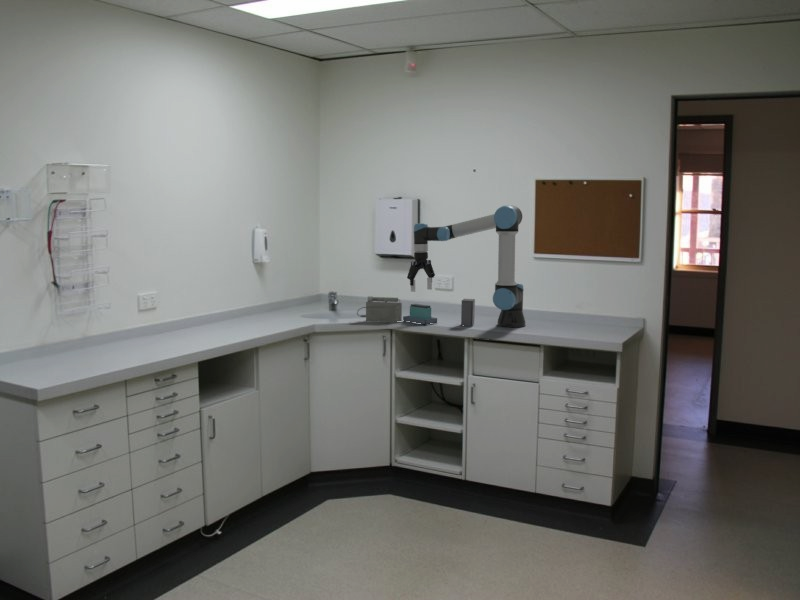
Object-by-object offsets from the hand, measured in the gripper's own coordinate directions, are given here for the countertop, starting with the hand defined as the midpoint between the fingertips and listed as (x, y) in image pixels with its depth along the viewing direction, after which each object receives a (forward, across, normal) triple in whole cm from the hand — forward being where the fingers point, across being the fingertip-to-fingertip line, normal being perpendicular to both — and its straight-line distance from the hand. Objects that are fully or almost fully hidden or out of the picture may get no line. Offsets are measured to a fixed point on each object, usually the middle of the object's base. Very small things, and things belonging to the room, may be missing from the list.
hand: (421, 290), depth 411 cm
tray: (+18, 0, -1) cm, 18 cm away
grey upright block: (+19, -12, +23) cm, 32 cm away
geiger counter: (+18, +14, -19) cm, 30 cm away
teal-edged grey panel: (+17, 0, -1) cm, 17 cm away
